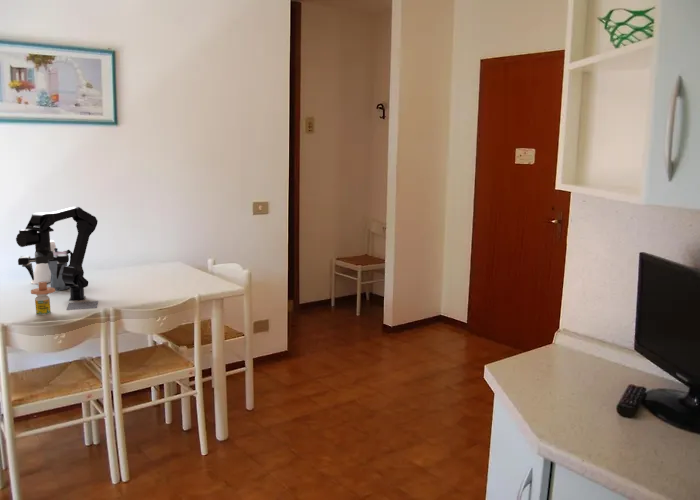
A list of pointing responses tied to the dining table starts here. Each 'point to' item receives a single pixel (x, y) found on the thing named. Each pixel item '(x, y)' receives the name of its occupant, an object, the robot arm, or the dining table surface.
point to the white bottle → (43, 270)
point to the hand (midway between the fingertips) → (45, 279)
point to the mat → (82, 305)
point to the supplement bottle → (42, 304)
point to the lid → (43, 289)
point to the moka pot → (55, 282)
